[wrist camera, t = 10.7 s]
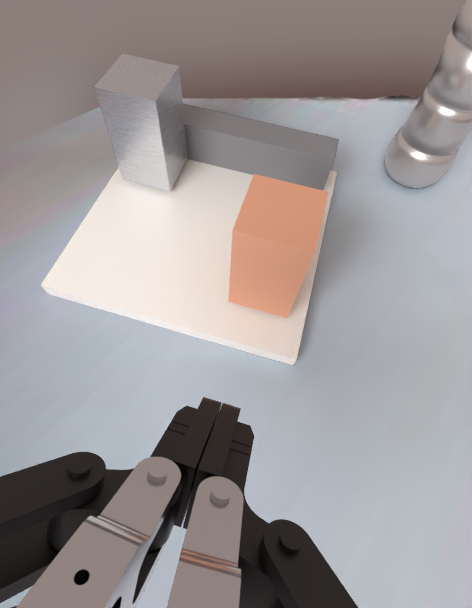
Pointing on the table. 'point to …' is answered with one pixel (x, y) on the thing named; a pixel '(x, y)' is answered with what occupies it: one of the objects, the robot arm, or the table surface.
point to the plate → (194, 236)
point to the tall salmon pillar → (274, 243)
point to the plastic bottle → (437, 114)
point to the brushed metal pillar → (144, 119)
